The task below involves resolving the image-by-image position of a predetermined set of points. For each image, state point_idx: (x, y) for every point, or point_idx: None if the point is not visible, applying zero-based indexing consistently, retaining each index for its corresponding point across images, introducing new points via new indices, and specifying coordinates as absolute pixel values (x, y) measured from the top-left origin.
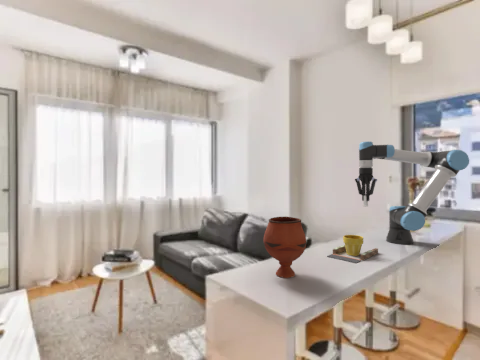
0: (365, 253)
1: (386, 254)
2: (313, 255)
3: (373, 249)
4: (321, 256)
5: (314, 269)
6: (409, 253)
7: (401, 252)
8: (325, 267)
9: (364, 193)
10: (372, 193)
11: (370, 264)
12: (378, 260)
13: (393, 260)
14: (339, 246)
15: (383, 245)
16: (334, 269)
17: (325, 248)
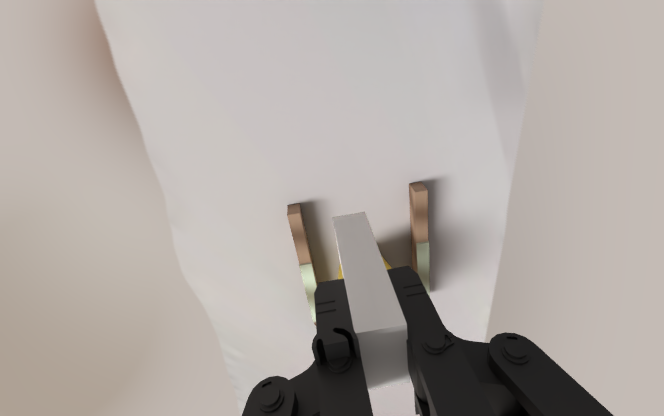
0: (426, 289)
1: (453, 171)
2: (289, 361)
3: (419, 217)
4: (311, 351)
5: (374, 412)
6: (529, 69)
7: (495, 83)
8: (383, 392)
9: (354, 392)
10: (537, 361)
11: (455, 304)
12: (459, 258)
13: (498, 221)
14: (306, 289)
15: (373, 10)
16: (406, 386)
17: (243, 285)
